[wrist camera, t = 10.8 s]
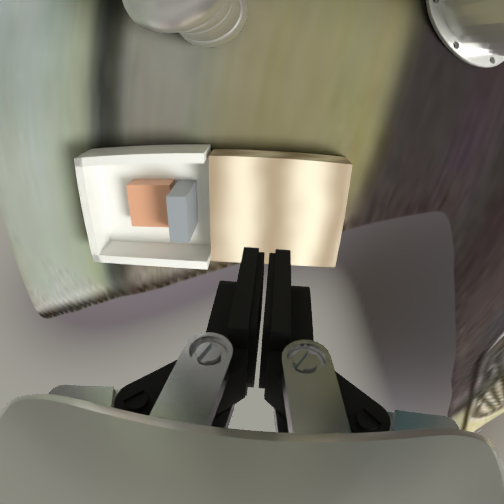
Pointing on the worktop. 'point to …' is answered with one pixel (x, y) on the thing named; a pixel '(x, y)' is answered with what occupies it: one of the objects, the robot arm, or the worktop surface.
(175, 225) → the slate tile
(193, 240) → the box
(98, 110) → the worktop surface
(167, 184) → the terracotta tile
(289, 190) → the plate
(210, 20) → the plastic bottle
